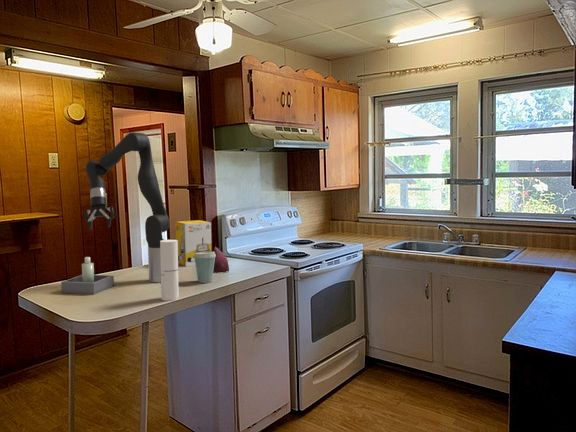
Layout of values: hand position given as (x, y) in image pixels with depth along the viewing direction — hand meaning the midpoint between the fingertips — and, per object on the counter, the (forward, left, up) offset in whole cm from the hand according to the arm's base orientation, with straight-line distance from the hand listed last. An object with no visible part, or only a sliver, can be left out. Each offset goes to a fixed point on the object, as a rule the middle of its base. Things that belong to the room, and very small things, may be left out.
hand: (100, 228), depth 229 cm
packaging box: (-31, -47, -26) cm, 62 cm away
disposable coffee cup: (-55, -2, -26) cm, 61 cm away
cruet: (-7, +22, -25) cm, 34 cm away
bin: (-7, +22, -26) cm, 35 cm away
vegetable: (-54, -28, -26) cm, 66 cm away
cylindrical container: (-51, +30, -26) cm, 65 cm away
